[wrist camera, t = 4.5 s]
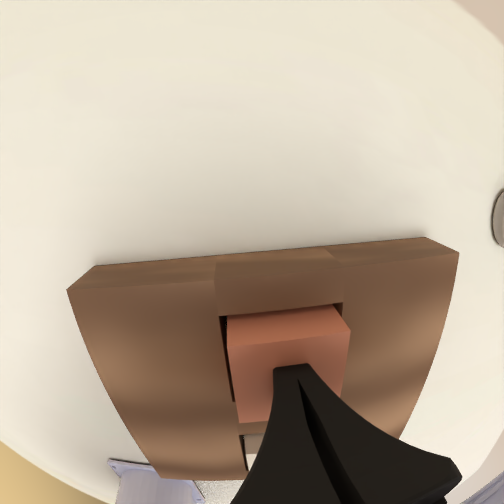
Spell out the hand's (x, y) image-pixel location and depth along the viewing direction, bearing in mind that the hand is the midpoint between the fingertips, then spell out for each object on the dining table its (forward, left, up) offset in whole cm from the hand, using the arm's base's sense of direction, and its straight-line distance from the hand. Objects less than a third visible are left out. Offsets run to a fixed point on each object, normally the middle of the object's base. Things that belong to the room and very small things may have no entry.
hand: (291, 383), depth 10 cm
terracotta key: (0, 0, -4) cm, 4 cm away
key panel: (-4, 0, -5) cm, 6 cm away
